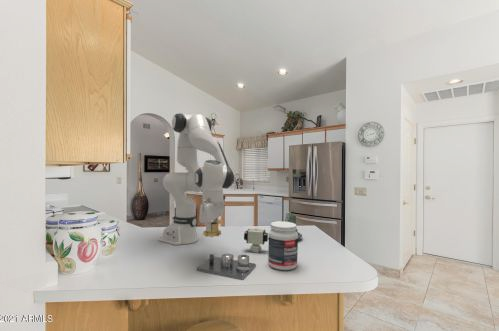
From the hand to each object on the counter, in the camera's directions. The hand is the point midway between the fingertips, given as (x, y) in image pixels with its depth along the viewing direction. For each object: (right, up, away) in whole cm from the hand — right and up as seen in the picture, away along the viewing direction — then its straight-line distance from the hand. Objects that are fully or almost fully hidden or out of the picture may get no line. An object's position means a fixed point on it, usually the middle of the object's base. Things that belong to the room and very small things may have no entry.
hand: (212, 229), depth 111 cm
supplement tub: (+31, -17, +2) cm, 35 cm away
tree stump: (+38, -17, +41) cm, 58 cm away
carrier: (+7, -16, -2) cm, 18 cm away
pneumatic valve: (+20, -16, +19) cm, 32 cm away
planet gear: (0, -2, 0) cm, 2 cm away
